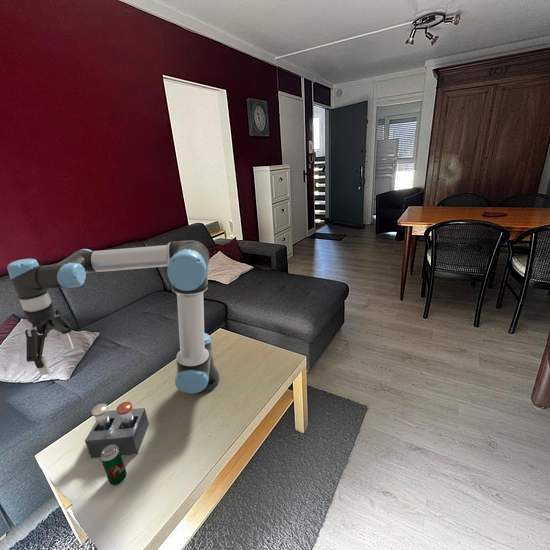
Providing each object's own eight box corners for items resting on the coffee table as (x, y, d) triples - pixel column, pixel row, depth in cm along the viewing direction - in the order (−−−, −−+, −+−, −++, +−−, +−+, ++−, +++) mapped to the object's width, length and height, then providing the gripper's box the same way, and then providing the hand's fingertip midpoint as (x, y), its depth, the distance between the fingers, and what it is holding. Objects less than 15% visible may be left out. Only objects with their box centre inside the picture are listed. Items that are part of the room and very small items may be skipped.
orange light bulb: (138, 418, 106) (133, 401, 103) (133, 429, 101) (128, 411, 98) (124, 419, 105) (119, 402, 102) (119, 430, 101) (114, 412, 98)
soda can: (113, 471, 95) (104, 443, 91) (129, 469, 96) (121, 442, 91) (106, 487, 91) (96, 459, 86) (123, 485, 91) (114, 457, 87)
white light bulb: (114, 420, 105) (109, 402, 102) (109, 431, 101) (103, 413, 98) (101, 421, 105) (95, 403, 102) (94, 432, 101) (88, 414, 98)
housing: (148, 424, 112) (144, 407, 109) (137, 454, 101) (132, 436, 98) (107, 427, 111) (101, 411, 108) (91, 458, 100) (84, 440, 97)
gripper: (50, 290, 109) (67, 340, 117) (-6, 328, 85) (21, 387, 93) (71, 289, 109) (87, 339, 117) (22, 326, 86) (46, 385, 94)
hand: (58, 360), depth 105 cm, fingers open, 13 cm apart
